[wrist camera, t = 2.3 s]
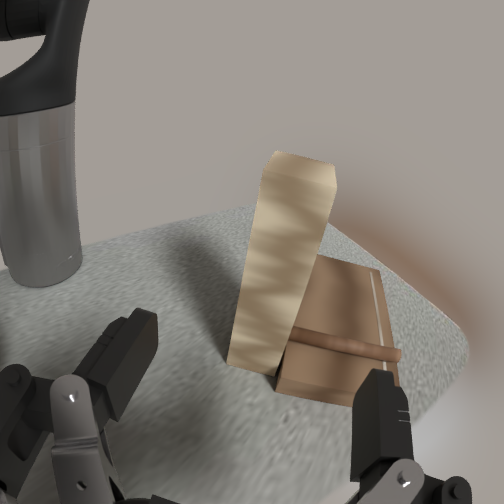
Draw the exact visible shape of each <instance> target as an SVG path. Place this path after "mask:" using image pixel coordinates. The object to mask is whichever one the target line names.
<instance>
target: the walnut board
mask: <svg viewBox="0 0 504 504" xmlns="http://www.w3.org/2000/svg"><path fill="white" fill-rule="evenodd" d="M293 326H296V327H300V328H304V329H309V330H313V331H317V332H321V333H326V334H330V335H334V336H339V337H343V338H348V339H352V340H357V341H362V342H366V343H371V344H376V345H381V346H386V347H391V348H394V343H393V337H392V331H391V325H390V320H389V314H388V309H387V304H386V299H385V294H384V290H383V285H382V280H381V276H380V271H379V270H376V269H372V268H368V267H364V266H361V265H357V264H353V263H349V262H345V261H342V260H338V259H334V258H330V257H326V256H322V255H318V254H317V256H316V259H315V262H314V266H313V269H312V272H311V275H310V278H309V281H308V284H307V287H306V290H305V293H304V296H303V298H302V301H301V304H300V307H299V310H298V313H297V316H296V319H295V321H294V324H293ZM373 368H375V369H381V370H387V371H392V372H393V375H394V382H395V386H398V387H400V384H399V376H398V369H397V363H395V362H389V361H387V362H384V361H382V360H379V359H373V358H368V357H363V356H358V355H353V354H349V353H344V352H339V351H334V350H330V349H325V348H321V347H316V346H312V345H308V344H303V343H299V342H295V341H291V340H288V341H287V344H286V346H285V349H284V352H283V354H282V358H281V363H280V369H279V374H278V379H277V384H276V389H275V392H278V393H282V394H287V395H291V396H296V397H301V398H305V399H310V400H315V401H321V402H326V403H331V404H337V405H343V406H349V407H352V406H353V400H354V396H355V394H356V392H357V390H358V389H359V387H360V386H361V384H362V383H363V381H364V380H365V378H366V377H367V375H368V374H369V372H370V371H371V369H373Z"/></svg>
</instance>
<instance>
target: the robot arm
mask: <svg viewBox="0 0 504 504" xmlns="http://www.w3.org/2000/svg"><path fill="white" fill-rule="evenodd" d="M89 1H90V0H0V41H10V40H15V39H21V38H26V37H33V36H41V35H46V36H45V39H44V42H43V44H42V46H41V48H40V49H39V50H38V52H37V53H36V54H35V55H34V56H32V58H30V59H29V60H28V61H26V62H25V63H24V64H23V65H21V66H20V67H18V68H17V69H15V70H13V71H12V72H10V73H9V74H7V75H5V76H3V77H1V78H0V248H1V252H2V256H3V260H4V263H5V265H6V266H8V268H9V271H10V274H11V276H12V278H13V279H14V280H15V281H16V282H17V283H19V284H21V285H24V286H28V287H45V286H50V285H54V284H56V283H59V282H61V281H63V280H65V279H67V278H68V277H70V276H71V275H72V274H74V273H75V272H76V270H77V269H78V268H79V266H80V265H81V263H82V258H83V257H82V249H81V241H80V232H79V222H78V210H77V197H76V180H75V151H74V150H75V137H74V136H75V134H74V133H75V132H74V129H75V126H74V125H75V96H76V77H77V67H78V56H79V48H80V42H81V35H82V31H83V26H84V21H85V17H86V12H87V8H88V4H89ZM157 348H158V321H157V314H156V313H153V312H150V311H147V310H144V309H141V308H136V309H135V310H134V311H133V312H132V314H131V315H130V316H129V318H128V319H127V318H124V317H120V318H118V319H116V320H115V321H113V322H112V323H110V324H109V325H108V327H107V328H106V329H105V331H104V332H103V333H102V335H101V336H100V337H99V338H98V340H97V342H96V343H95V344H94V345H93V346H92V348H91V349H90V351H89V352H88V353H87V355H86V356H85V357H84V359H83V360H82V361H81V363H80V364H79V366H78V367H77V368H76V370H75V371H74V372H73V373H72V374H69V375H63V376H61V377H59V378H57V379H56V380H50V379H44V378H39V377H34V376H31V374H30V372H29V370H28V369H27V368H26V367H25V366H23V365H20V364H12V365H9V366H7V367H5V368H4V369H3V370H2V371H1V372H0V504H19V503H18V502H17V500H16V498H17V496H18V494H19V492H20V490H21V487H22V485H23V483H24V481H25V479H26V477H27V475H28V473H29V471H30V469H31V467H32V465H33V463H34V461H35V459H36V457H37V455H38V453H39V451H40V450H41V448H42V446H43V444H44V442H45V440H46V438H47V436H48V435H49V433H50V432H52V433H54V439H55V446H53V447H52V450H51V455H52V462H53V468H54V474H55V479H56V484H57V489H58V494H59V498H60V503H61V504H179V503H176V502H173V501H170V500H167V499H164V498H161V497H159V496H156V495H153V494H152V497H151V499H146V498H133V499H126V496H125V493H124V490H123V487H122V484H121V482H120V479H119V477H118V474H117V472H116V469H115V465H114V462H113V458H112V454H111V450H110V446H109V442H108V438H107V434H106V430H105V424H106V423H107V421H108V419H109V418H110V419H113V420H115V421H117V422H118V421H119V419H120V417H121V416H122V414H123V412H124V410H125V408H126V406H127V405H128V403H129V401H130V399H131V397H132V395H133V394H134V392H135V390H136V388H137V386H138V385H139V383H140V381H141V379H142V377H143V376H144V374H145V372H146V370H147V369H148V367H149V365H150V363H151V361H152V360H153V358H154V356H155V354H156V351H157ZM408 411H409V408H408V400H407V397H406V395H405V393H404V391H403V390H402V388H401V387H398V386H395V382H394V375H393V372H392V371H387V370H381V369H375V368H373V369H371V371H370V372H369V374H368V375H367V377H366V378H365V380H364V381H363V383H362V384H361V386H360V387H359V389H358V390H357V392H356V394H355V396H354V400H353V406H352V452H351V473H350V482H360V489H359V490H358V491H357V492H356V493H355V494H354V495H353V496H352V497H351V498H350V499H349V500H348V501H347V502H346V503H345V504H472V492H471V487H470V485H469V483H468V482H467V481H466V480H465V479H464V478H462V477H459V476H454V477H451V478H449V479H448V480H446V481H442V480H439V479H436V478H433V477H430V476H428V475H426V474H424V472H423V470H422V468H421V466H420V465H419V464H418V463H417V462H415V461H414V456H413V445H412V434H411V424H410V423H409V422H410V416H409V413H408Z"/></svg>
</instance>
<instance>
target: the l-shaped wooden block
mask: <svg viewBox="0 0 504 504" xmlns="http://www.w3.org/2000/svg"><path fill="white" fill-rule="evenodd" d="M336 190H337V183H336V176H335V168H334V165H333V164H329V163H325V162H322V161H318V160H313V159H310V158H306V157H302V156H298V155H294V154H289V153H285V152H281V151H275V153H274V154H273V156H272V157H271V159H270V160H269V162H268V163H267V165H266V166H265V168H264V169H263V174H262V179H261V184H260V189H259V194H258V200H257V205H256V210H255V215H254V220H253V226H252V231H251V236H250V241H249V246H248V252H247V257H246V262H245V267H244V273H243V278H242V283H241V288H240V294H239V299H238V304H237V309H236V315H235V320H234V325H233V330H232V336H231V341H230V346H229V352H228V357H227V362H226V364H228V365H232V366H235V367H239V368H243V369H246V370H250V371H254V372H258V373H262V374H266V375H270V376H275V373H276V370H277V368H278V365H279V362H280V360H281V357H282V354H283V352H284V349H285V346H286V344H287V341H288V340H291V341H295V342H299V343H303V344H308V345H312V346H316V347H321V348H325V349H330V350H334V351H339V352H344V353H349V354H353V355H358V356H363V357H368V358H373V359H379V360H382V361H384V362H387V361H389V362H395V363H398V362H399V360H400V358H401V350H400V349H396V348H391V347H386V346H381V345H376V344H371V343H366V342H362V341H357V340H352V339H348V338H343V337H339V336H334V335H330V334H326V333H321V332H317V331H313V330H309V329H304V328H300V327H296V326H293V324H294V321H295V319H296V316H297V313H298V310H299V307H300V304H301V301H302V298H303V296H304V293H305V290H306V287H307V284H308V281H309V278H310V275H311V272H312V269H313V266H314V262H315V259H316V256H317V253H318V250H319V247H320V244H321V240H322V237H323V234H324V231H325V228H326V224H327V221H328V218H329V214H330V211H331V208H332V204H333V201H334V197H335V193H336Z"/></svg>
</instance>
